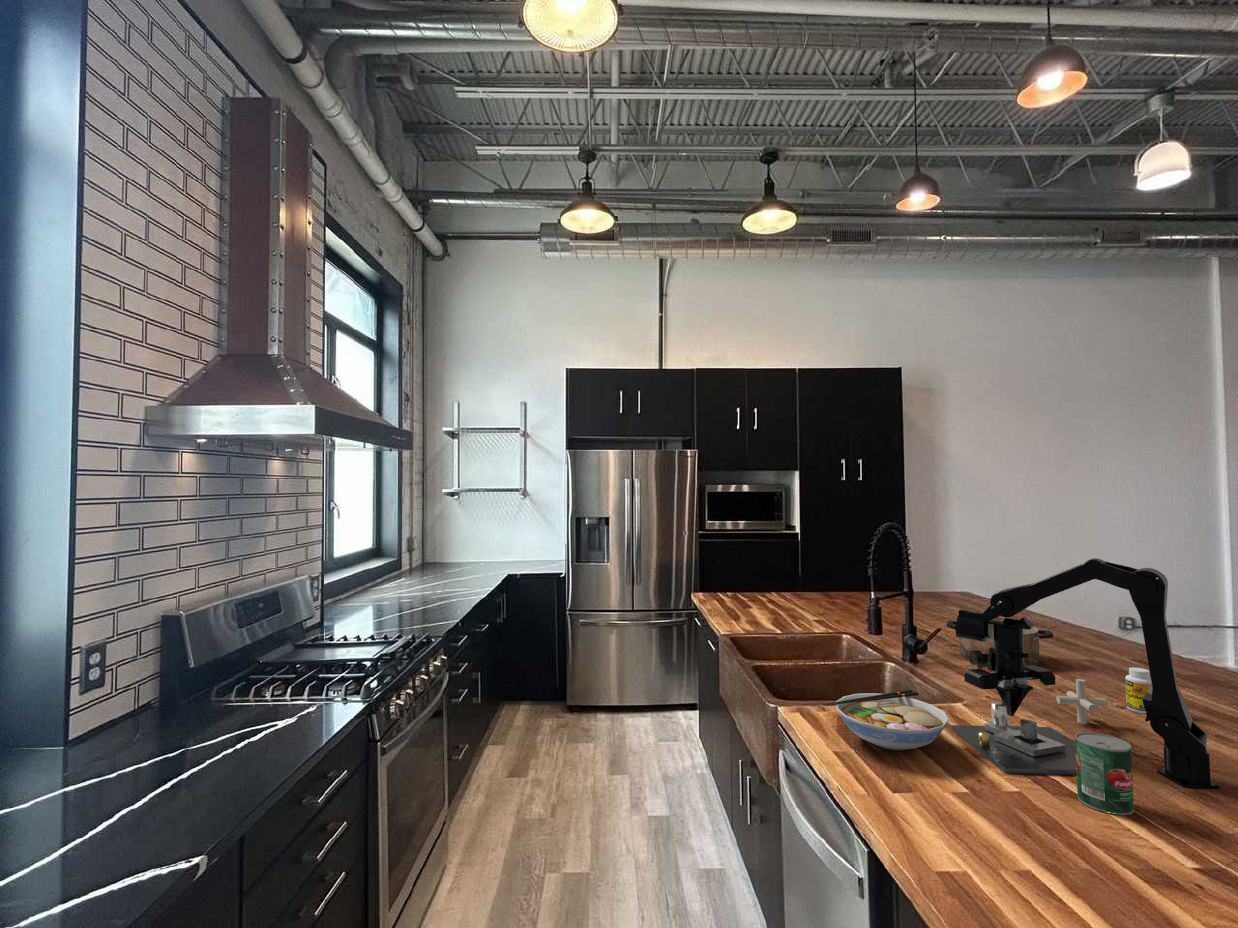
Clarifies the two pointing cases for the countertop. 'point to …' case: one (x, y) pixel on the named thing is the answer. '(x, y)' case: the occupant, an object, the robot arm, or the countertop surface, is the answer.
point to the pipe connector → (1081, 701)
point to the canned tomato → (1104, 773)
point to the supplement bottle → (1137, 688)
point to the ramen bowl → (892, 719)
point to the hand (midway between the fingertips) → (1010, 715)
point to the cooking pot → (968, 645)
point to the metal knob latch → (1018, 734)
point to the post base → (1018, 760)
